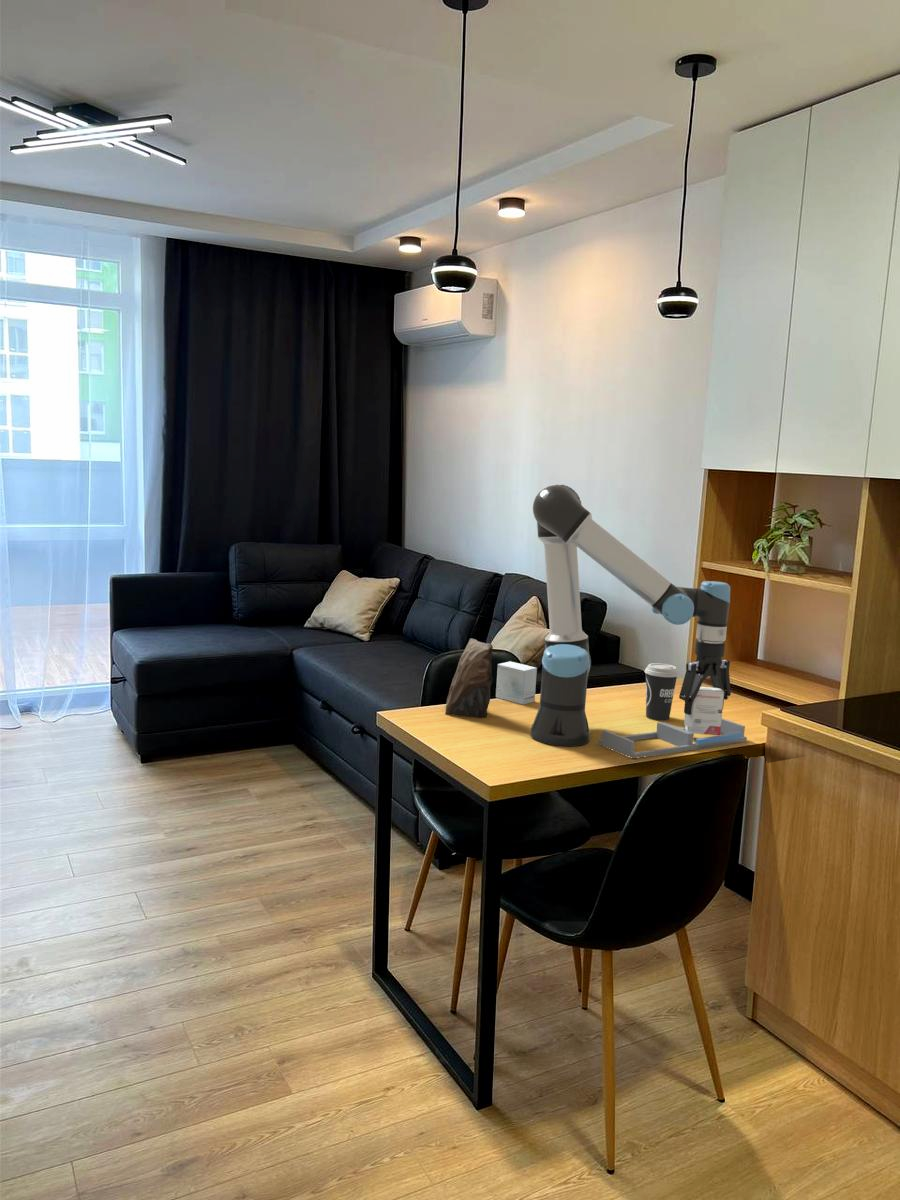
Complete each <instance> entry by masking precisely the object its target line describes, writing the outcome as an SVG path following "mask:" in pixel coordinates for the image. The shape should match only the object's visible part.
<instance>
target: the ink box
mask: <svg viewBox="0 0 900 1200" xmlns="http://www.w3.org/2000/svg"><path fill="white" fill-rule="evenodd" d="M690 697H691V696H690ZM723 698H724V691H723V690H722V689H720V688H713V686H712V687H711V686H710V687H708V686H701V687H700V689H699V691H698V693H697V695H696V698H695V700H694V702H695V703H696V708H695V718H694V727H689V726H686V725H684V728H685V729H686V731H689V732H692V733H694V734H696V735H697V734H698V735H699V734H700V735H709V736H710V735H711V736H719V735H721V734H720V731H721V720H722V717H723V710H724V705H723ZM722 709H723V710H722Z"/></svg>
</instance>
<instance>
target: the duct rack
mask: <svg viewBox="0 0 900 1200" xmlns="http://www.w3.org/2000/svg"><path fill="white" fill-rule="evenodd" d="M745 730H746V725H744V724H741V723H737V722H734V721H732V720H728V719H725V718H722V720H721V731H720V735H711V736H707V737H700V738H696V739H695V743H694V735H695V733H692V732H689V731H686V729H685V727H679V726H678V727H677V726H675V725H673V724H669V723H667V722H665V721H664V722H663V721H662V722H661V721H658V722H657V724H656V731H650V732H643V733H638V734H628V735H619V734H617V733H615V732H612V731H609V730H608V729H601V736H600V737H601V738H599V739H598V741H597V744H598V745H599V744H600V745H599V746H601V745H602V746H601V747H604V748H606V747H608V748H610V749H609V750H611V749H613V750H614V751H613V750H612V751H613V752H615V751H617V752H616V753H618V752H619V753H618V754H620V753H622V754H624V755H623V756H625V755H627V756H630V757H632V758H637V757H644V756H651V757H656V755H657V756H662V755H663V756H664V755H668V754H674V753H675V754H676V753H682V752H688V751H694V750H700V749H707V748H715V747H722V746H725V745H726V746H727V745H734V744H741V743H747V742H748V741H747V739H748V736H745ZM655 738H657V739H659V740H662V741H664V742H667V743H669V744H672V745H675V746H669V747H663V748H656V749H649V750H644V751H637V752H635V746H636V745H635V744H636V741H640V740H647V739H655ZM608 748H607V749H608ZM622 754H621V755H622ZM654 755H655V756H654ZM627 756H626V757H627ZM632 758H631V759H632ZM644 758H645V757H644Z"/></svg>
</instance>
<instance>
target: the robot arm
mask: <svg viewBox="0 0 900 1200" xmlns="http://www.w3.org/2000/svg"><path fill="white" fill-rule="evenodd" d="M580 498H581V497H580V496H579V494H578V493H577V492H576V491H575V489H573V488H572V487H571V486H568V485H565V484H554V485H549V486H546V487H545V488H542V490H540V491H539V492H538V493H537V494H536V496H535V498H534V500H533V504H532V505H533V506H532V513H533V517H534V519H535V521H536V528H537V538H538V540H540V541H541V542H542V543H543V547H544V559H545V560H544V561H545V564H544V565H545V575H546V591H547V608H548V609H547V610H548V621H549V622H548V625H549V632H548V634H547V635H546V636H545V638H544V651H543V656H542V658H541V664H542V667H541V680H540V681H541V682H540V683H541V684H540V694H539V695H540V696H539V707H538V710H537V713H536V715H535V718H534V720H533V723H532V724H531V728H530V737H531V738H532V739H533V740H535V741H537V742H540V743H542V744H543V743H544V744H548V745H553V746H562V747H577V746H582V745H586V744H587V743H589V742H590V738H591V737H590V736H591V730H590V728H589V722H588V717H587V714H586V703H587V701H586V700H587V689H588V688H587V687H588V679H589V673H590V670H591V667H592V659H591V655H590V650H589V649H590V647H589V646H590V645H589V635H588V634H586V633H585V631H584V630H583V627H582V611H581V610H582V609H581V608H582V607H581V596H580V595H581V593H580V592H581V591H580V576H579V563H578V562H579V561H578V548H579V550H580V551H582V552H583V553H584V554H585V555H587V556H588V557H590V558H591V559H592V560H593V561H595V562H596V563H597V564H599V566H601V567H602V568H603V569H605V570H606V571H607V572H608V573H609V574H611V575H612V576H614V577H615V578H616V579H617V580H618V581H620V583H622V584H624V586H626V587H627V588H628V589H630V590H631V591H632V592H633V593H635V594H636V595H637V596H639V598H641V599H643V601H644V602H646V603H647V604H648V605H650V607H651V609H652V610H651V611H652V613H654V614H657V615H661V616H663V617H664V619H665V620H666V621H667V622H668V623H670V624H672V625H678V626H679V625H681V626H682V625H684V624H686V623H688V622H689V621H690V620H691V619H692V618H697V623H696V632H695V633H696V634H695V638H696V639H697V640H695V642H694V643H695V644H694V645H695V646H694V654H695V655H696V659H695V661H693V662H690V661H687V662H686V664H685V665H686V666H685V667H686V668H685V670H686V671H685V675H684V678H683V681H682V685H681V689H680V692H679V696H678V698H679V699H680V700H682V701H684V707H683V709H684V710H683V713H684V720H683V721H684V722H683V725H684V726H685V725H686V726H689V727H694V718H695V708H696V703H695V702H694V700H695V698H696V695H697V693H698V691H699V689H700V687H702V684H703V682H704V681H705V680H706V679H707V678H708V677H710V681H711V684H712V688H720V689H722V690H723V691H724V698H723V706H724V704H725V701H726V700H729V697H730V696H731V680H730V666H731V665H730V664H731V661H730V660H727V659H724V657H725V653H726V643H725V641H727V638H726V637H727V629H728V621H729V611H730V604H731V586H730V584H729V583H727V582H722V581H716V580H715V581H714V580H711V581H710V580H703V581H702V582H701V583H700V585H701V586H699V587H696V588H694V587H684V586H683V587H681V586H676V585H674V584H673V583H671V581H670V580H668V579H667V578H666V577H665V576H663V575H662V574H661V573H659V572H658V571H657V570H656V569H654V568H653V567H652V566H651V565H649V564H648V563H647V562H646V561H645V560H643V559H642V558H641V557H640V556H639V555H637V554H635V553H634V552H633V551H632V550H631V549H630V548H628V547H627V546H626V545H624V544H623V543H622V542H621V541H620V540H618V539H617V538H616V537H615V536H614V535H612V534H611V533H610V532H609V531H607V530H606V529H604V528H603V527H602V526H601V525H600V524H598V523H597V521H595V520H593V516H592V515H593V514H592V513H591V512H590V511H589V510H587V509H586V508H585V506H584V505H582V500H581V499H580ZM690 696H691V697H690ZM722 711H724V708H723V709H722Z"/></svg>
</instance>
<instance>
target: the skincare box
mask: <svg viewBox="0 0 900 1200" xmlns="http://www.w3.org/2000/svg"><path fill="white" fill-rule="evenodd" d="M537 672H538V667H536V666H535V667H534V666H530V665H527V664H522V663H519V662H515V661H512V660H509V661H506V662H501V663H497V671H496V674H497V675H496V688H495V698H496V699H497V698H498V699H502V700H505V701H508V702H512V703H516V704H518V705H519V704H520V705H526V704H531V703H534V702H535V701H536V689H537V687H536V685H537V674H538V673H537Z"/></svg>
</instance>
